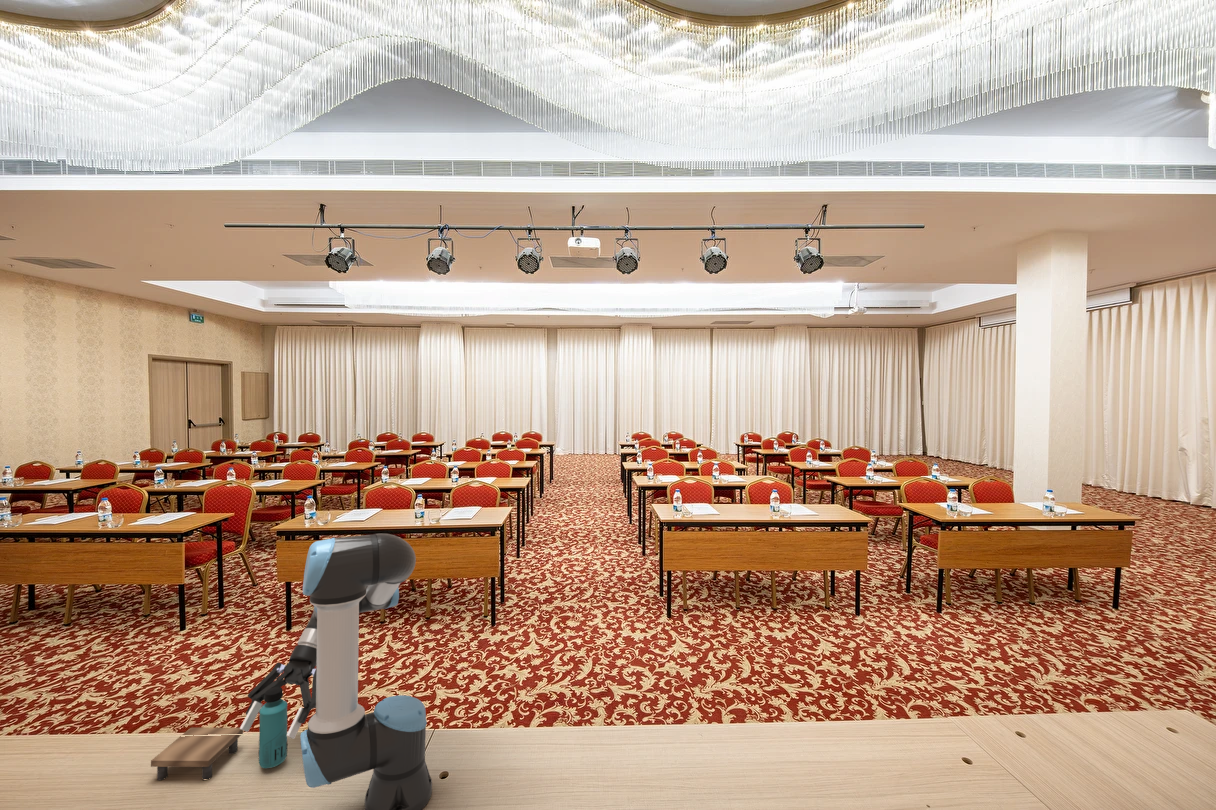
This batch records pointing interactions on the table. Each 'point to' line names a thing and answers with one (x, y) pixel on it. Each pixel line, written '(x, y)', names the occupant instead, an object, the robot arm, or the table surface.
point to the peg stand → (196, 750)
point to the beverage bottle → (273, 729)
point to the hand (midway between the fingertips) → (266, 733)
